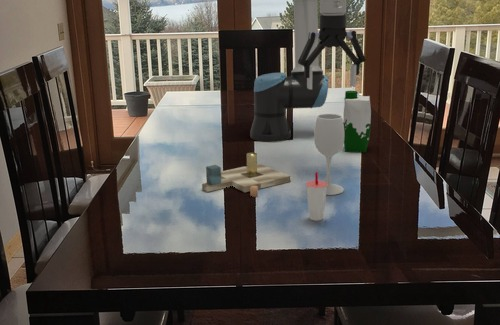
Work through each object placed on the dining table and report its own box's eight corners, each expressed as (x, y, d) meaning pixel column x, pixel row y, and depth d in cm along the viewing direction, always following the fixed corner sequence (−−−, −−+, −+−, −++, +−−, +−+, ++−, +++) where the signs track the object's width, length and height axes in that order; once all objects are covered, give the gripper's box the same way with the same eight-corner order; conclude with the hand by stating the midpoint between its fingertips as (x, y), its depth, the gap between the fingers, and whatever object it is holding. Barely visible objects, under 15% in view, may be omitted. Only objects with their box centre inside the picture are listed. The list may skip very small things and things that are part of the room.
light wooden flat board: (191, 183, 179) (190, 162, 177) (259, 168, 192) (258, 148, 190) (219, 198, 166) (219, 175, 164) (290, 181, 179) (290, 160, 177)
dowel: (249, 195, 168) (248, 186, 168) (255, 194, 170) (254, 185, 169) (253, 197, 167) (252, 188, 166) (259, 196, 168) (259, 187, 167)
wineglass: (346, 186, 174) (348, 113, 168) (340, 196, 166) (342, 120, 160) (316, 183, 177) (317, 112, 171) (309, 193, 169) (310, 118, 163)
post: (245, 179, 182) (244, 153, 179) (253, 177, 183) (253, 152, 181) (250, 182, 179) (250, 156, 177) (259, 180, 181) (258, 154, 178)
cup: (311, 223, 149) (312, 176, 145) (301, 216, 153) (301, 170, 150) (331, 220, 151) (332, 173, 147) (320, 212, 155) (321, 167, 152)
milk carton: (343, 145, 216) (344, 89, 210) (369, 146, 214) (371, 89, 208) (341, 152, 208) (343, 93, 202) (369, 153, 206) (371, 94, 200)
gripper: (295, 16, 171) (294, 91, 177) (378, 13, 176) (375, 87, 183) (287, 14, 178) (287, 87, 184) (368, 12, 183) (365, 83, 190)
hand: (331, 87), depth 183 cm, fingers open, 13 cm apart
